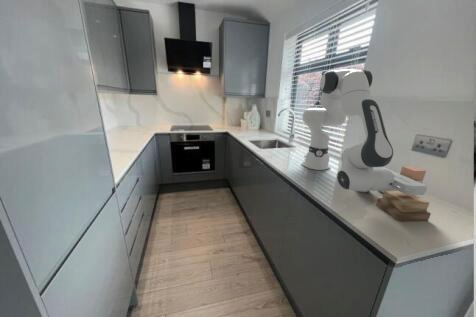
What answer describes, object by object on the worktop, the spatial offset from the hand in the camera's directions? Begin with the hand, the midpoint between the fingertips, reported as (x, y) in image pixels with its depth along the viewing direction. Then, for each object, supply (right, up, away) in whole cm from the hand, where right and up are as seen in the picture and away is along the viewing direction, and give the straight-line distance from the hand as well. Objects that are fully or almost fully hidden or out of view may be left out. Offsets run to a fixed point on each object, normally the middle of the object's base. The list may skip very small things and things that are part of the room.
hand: (412, 179), depth 77 cm
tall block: (-1, -5, +2) cm, 6 cm away
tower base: (-1, -15, +4) cm, 16 cm away
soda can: (-5, -8, +23) cm, 25 cm away
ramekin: (+9, -9, +23) cm, 26 cm away
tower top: (-1, -11, +3) cm, 12 cm away
